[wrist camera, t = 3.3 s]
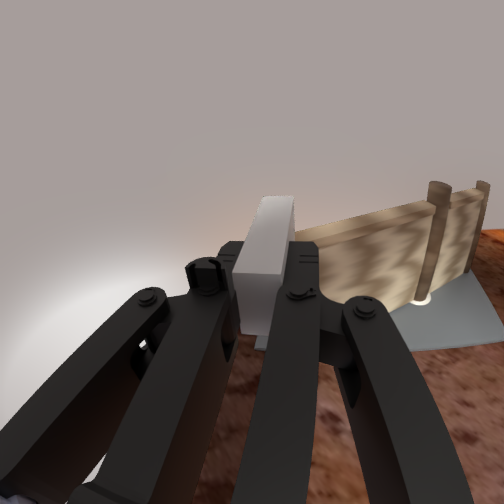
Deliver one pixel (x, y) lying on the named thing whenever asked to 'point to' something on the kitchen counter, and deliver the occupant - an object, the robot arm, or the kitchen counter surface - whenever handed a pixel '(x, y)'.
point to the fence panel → (373, 254)
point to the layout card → (444, 318)
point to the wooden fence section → (451, 234)
